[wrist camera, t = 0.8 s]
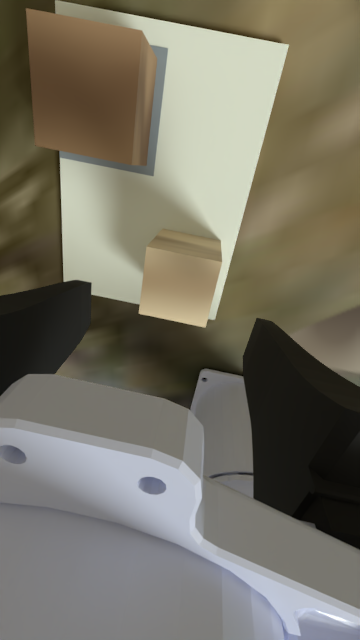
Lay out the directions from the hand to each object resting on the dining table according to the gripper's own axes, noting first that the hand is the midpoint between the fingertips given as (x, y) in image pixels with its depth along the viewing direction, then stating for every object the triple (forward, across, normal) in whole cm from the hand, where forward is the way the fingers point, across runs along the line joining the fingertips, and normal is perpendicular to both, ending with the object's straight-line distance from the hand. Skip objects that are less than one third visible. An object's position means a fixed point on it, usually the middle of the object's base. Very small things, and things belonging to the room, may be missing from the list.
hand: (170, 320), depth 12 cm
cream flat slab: (+9, +3, -4) cm, 11 cm away
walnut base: (+9, +6, -8) cm, 13 cm away
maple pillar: (+9, 0, 0) cm, 9 cm away
